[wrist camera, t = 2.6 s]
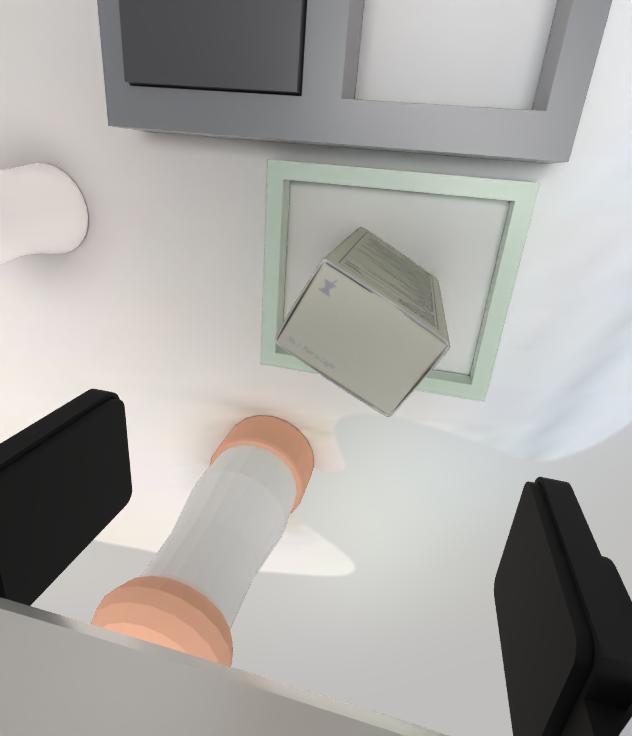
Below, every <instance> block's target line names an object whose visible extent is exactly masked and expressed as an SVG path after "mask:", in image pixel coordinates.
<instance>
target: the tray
mask: <svg viewBox="0 0 632 736" xmlns="http://www.w3.org/2000/svg"><path fill="white" fill-rule="evenodd" d="M290 180H296V181H307V182H317V183H328V184H338V185H349V186H360V187H370V188H381V189H392V190H402V191H413V192H423V193H434V194H445V195H455V196H466V197H476V198H487V199H498V200H508V201H511V202H510V206H509V211H508V215H507V219H506V223H505V228H504V232H503V236H502V241H501V245H500V249H499V253H498V258H497V262H496V266H495V270H494V275H493V279H492V283H491V288H490V292H489V296H488V300H487V305H486V309H485V313H484V317H483V322H482V326H481V330H480V335H479V339H478V343H477V347H476V352H475V356H474V360H473V364H472V369H471V373H470V376H469V375H463V374H457V373H450V372H444V371H438V370H431V372H430V373H429V374H428V375H427V376H426V377H425V378H424V379H423V381H422V382H421V383H420V384H419V385H418V386H417V387H416V389H415V390H418V391H424V392H430V393H436V394H442V395H448V396H454V397H460V398H466V399H472V400H478V401H485V397H486V393H487V389H488V386H489V382H490V378H491V374H492V370H493V366H494V362H495V358H496V354H497V350H498V346H499V342H500V338H501V334H502V330H503V327H504V323H505V319H506V315H507V311H508V307H509V303H510V299H511V295H512V291H513V287H514V283H515V279H516V275H517V271H518V268H519V264H520V260H521V256H522V252H523V248H524V244H525V240H526V236H527V232H528V228H529V224H530V220H531V216H532V212H533V209H534V205H535V201H536V197H537V193H538V189H539V185H540V183H536V182H524V181H513V180H501V179H490V178H478V177H467V176H455V175H444V174H432V173H421V172H409V171H398V170H386V169H374V168H363V167H351V166H340V165H328V164H317V163H305V162H294V161H282V160H271V159H268V164H267V194H266V223H265V252H264V282H263V311H262V340H261V364H264V365H270V366H276V367H282V368H287V369H293V370H299V371H305V372H311V373H317V372H316V371H314V370H313V369H311V368H310V367H308V366H307V365H305V364H304V363H303V362H301V361H299V360H298V359H296V358H295V357H294V356H292V355H291V354H290V353H288V352H287V351H285V350H284V349H283V348H281V347H280V346H279V345H277V344H276V343H275V337H276V335H277V333H278V331H279V329H280V328H281V326H282V324H283V308H284V289H285V270H286V251H287V232H288V213H289V194H290ZM317 374H319V373H317Z"/></svg>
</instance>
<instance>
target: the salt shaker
mask: <svg viewBox="0 0 632 736" xmlns="http://www.w3.org/2000/svg"><path fill="white" fill-rule="evenodd" d="M313 467H314V460H313V452H312V450H311V448H310V445H309V443H308V441H307V440H306V438H305V437H304V436H303V435H302V434H301V432H300V431H299V430H298V429H296V428H295V427H294V426H292V425H291V424H289V423H288V422H286V421H284V420H281V419H278V418H275V417H272V416H255V417H251V418H247V419H244V420H243V421H241V422H240V423H239V424H237V425H236V426H235V427H234V428H233V429H232V431H231V432H230V433H229V434H228V436H227V437H226V438H225V440H224V441H223V442H222V443H221V445H220V446H219V447H218V449H217V450H216V452H215V453H214V455H213V456H212V458H211V462H210V467H209V468H208V470H207V471H206V472H205V473H204V475H203V476H202V477H201V478H200V479H199V481H198V482H197V484H196V485H195V487H194V488H193V490H192V491H191V493H190V495H189V498H188V500H187V502H186V504H185V506H184V508H183V510H182V512H181V514H180V516H179V518H178V520H177V522H176V525H175V527H174V529H173V531H172V533H171V534H170V536H169V537H168V539H167V540H166V541H165V543H164V544H163V546H162V547H161V548H160V550H159V551H158V553H157V554H156V555H155V557H154V558H153V560H152V561H151V562H150V564H149V565H148V567H147V568H146V570H145V571H144V572H143V574H142V575H141V577H138V578H134V579H132V580H130V581H128V582H127V583H125V584H123V585H121V586H119V587H117V588H116V589H114V590H113V591H112V592H110V593H109V594H107V595H106V596H105V597H104V598H103V600H102V601H101V603H100V605H99V606H98V608H97V610H96V612H95V615H94V617H93V619H92V622H91V624H92V625H95V626H98V627H102V628H105V629H108V630H111V631H115V632H118V633H121V634H125V635H128V636H131V637H134V638H138V639H141V640H144V641H148V642H151V643H154V644H158V645H161V646H164V647H167V648H171V649H174V650H177V651H180V652H184V653H187V654H190V655H194V656H197V657H200V658H203V659H207V660H210V661H213V662H216V663H220V664H223V665H226V666H230V667H231V664H232V655H233V647H232V638H231V633H230V629H231V627H232V624H233V622H234V620H235V618H236V616H237V613H238V611H239V609H240V606H241V604H242V602H243V600H244V598H245V596H246V594H247V591H248V589H249V587H250V585H251V583H252V580H253V578H254V577H255V575H256V574H257V572H258V571H259V569H260V568H261V566H262V565H263V563H264V562H265V560H266V559H267V557H268V556H269V554H270V553H271V551H272V550H273V549H274V547H275V546H276V544H277V543H278V541H279V540H280V538H281V537H282V534H283V531H284V528H285V526H286V523H287V520H288V518H289V515H290V514H291V513H292V512H293V511H294V510H295V509H296V507H297V506H298V505H299V504H300V502H301V499H302V497H303V494H304V492H305V489H306V487H307V484H308V482H309V480H310V477H311V474H312V471H313Z"/></svg>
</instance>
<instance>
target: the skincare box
mask: <svg viewBox="0 0 632 736" xmlns="http://www.w3.org/2000/svg"><path fill="white" fill-rule="evenodd" d="M275 343H276V344H277V345H279V346H280V347H281V348H283V349H284V350H285V351H287V352H288V353H290V354H291V355H292V356H294V357H295V358H296V359H298V360H299V361H301V362H303V363H304V364H305V365H307V366H308V367H310V368H311V369H313V370H314V371H316V372H317V373H319V374H320V375H322V376H323V377H325V378H326V379H328V380H329V381H331V382H333V383H334V384H336V385H337V386H338V387H340V388H342V389H343V390H345V391H346V392H348V393H349V394H351V395H353V396H354V397H355V398H357V399H359V400H360V401H362V402H364V403H365V404H367V405H368V406H370V407H371V408H373V409H374V410H376V411H378V412H379V413H381V414H383V415H384V416H386V417H390V416H391V415H392V414H393V413H394V412H395V411H396V410H397V409H398V408H399V406H400V405H401V404H402V403H403V402H404V401H405V400H406V399H407V398H408V397H409V395H410V394H411V393H412V392H413V391H414V390H415V389H416V387H417V386H418V385H419V384H420V383H421V382H422V381H423V379H424V378H425V377H426V376H427V375H428V374H429V373H430V372H431V370H432V369H433V368H434V367H435V366H436V364H437V363H438V362H439V361H440V360H441V358H442V357H443V356H444V355H445V354H446V352H447V351H448V350H449V348H450V343H449V338H448V332H447V327H446V321H445V315H444V310H443V305H442V299H441V293H440V288H439V283H438V280H437V279H436V278H434V277H433V276H432V275H430V274H429V273H427V272H426V271H425V270H423V269H422V268H421V267H419V266H418V265H416V264H415V263H414V262H412V261H411V260H409V259H408V258H407V257H405V256H404V255H402V254H401V253H399V252H398V251H396V250H395V249H394V248H392V247H391V246H389V245H388V244H386V243H385V242H383V241H382V240H380V239H379V238H377V237H376V236H374V235H373V234H371V233H370V232H368V231H367V230H365V229H364V228H362V227H360V228H358V229H357V230H356V231H355V232H354V233H353V234H351V235H350V236H349V237H348V238H347V239H346V240H345V241H343V242H342V243H341V244H340V245H339V246H338V247H337V248H335V249H334V250H333V251H332V252H331V253H329V254H328V255H327V256H326V257H325V258H324V259H323V260H322V261H321V263H320V264H319V266H318V267H317V269H316V270H315V272H314V273H313V275H312V277H311V278H310V280H309V281H308V283H307V284H306V286H305V287H304V289H303V291H302V292H301V294H300V295H299V297H298V299H297V300H296V302H295V304H294V305H293V307H292V309H291V310H290V312H289V314H288V315H287V317H286V319H285V321H284V322H283V324H282V326H281V328H280V329H279V331H278V333H277V335H276V337H275Z"/></svg>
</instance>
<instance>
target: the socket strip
mask: <svg viewBox="0 0 632 736" xmlns="http://www.w3.org/2000/svg"><path fill="white" fill-rule="evenodd" d="M97 3H98V14H99V25H100V36H101V47H102V59H103V70H104V81H105V92H106V103H107V115H108V126H113V127H120V128H127V129H134V130H141V131H148V132H160V133H173V134H185V135H198V136H210V137H223V138H235V139H248V140H260V141H273V142H286V143H298V144H311V145H323V146H336V147H348V148H361V149H373V150H386V151H399V152H411V153H424V154H436V155H449V156H461V157H474V158H486V159H499V160H512V161H524V162H537V163H561V162H568V161H569V158H570V154H571V150H572V147H573V143H574V139H575V136H576V132H577V128H578V125H579V121H580V117H581V113H582V110H583V106H584V102H585V99H586V95H587V91H588V88H589V84H590V80H591V77H592V73H593V69H594V66H595V62H596V58H597V55H598V51H599V47H600V44H601V40H602V36H603V33H604V29H605V25H606V22H607V18H608V14H609V11H610V7H611V3H612V0H558V1H557V6H556V10H555V14H554V18H553V23H552V27H551V31H550V35H549V40H548V44H547V48H546V53H545V57H544V61H543V65H542V70H541V74H540V78H539V82H538V87H537V91H536V95H535V100H534V104H533V108H532V110H519V109H502V108H486V107H469V106H453V105H437V104H420V103H404V102H388V101H371V100H355V90H356V79H357V69H358V59H359V49H360V39H361V28H362V18H363V8H364V0H97Z"/></svg>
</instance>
